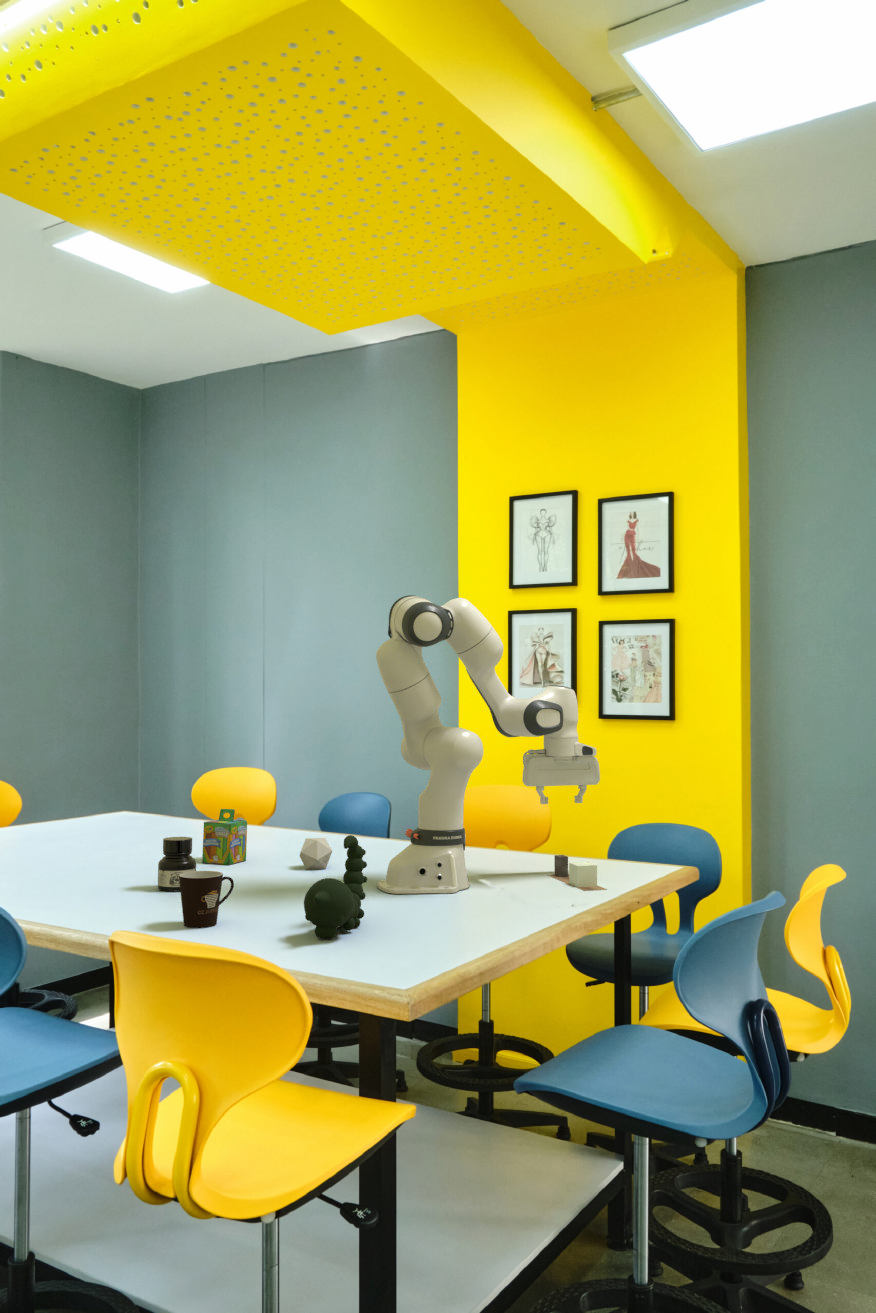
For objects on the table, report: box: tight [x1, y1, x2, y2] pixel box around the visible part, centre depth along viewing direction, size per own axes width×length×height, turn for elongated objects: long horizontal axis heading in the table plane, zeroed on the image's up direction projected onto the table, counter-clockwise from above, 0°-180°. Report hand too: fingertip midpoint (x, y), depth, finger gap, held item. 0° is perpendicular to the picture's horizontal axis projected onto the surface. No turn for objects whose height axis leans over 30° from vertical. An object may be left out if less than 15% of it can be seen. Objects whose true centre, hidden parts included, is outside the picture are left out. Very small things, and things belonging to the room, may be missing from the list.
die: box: [299, 837, 333, 870], centre depth 264 cm, size 8×9×10 cm
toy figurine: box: [303, 834, 368, 941], centre depth 190 cm, size 9×19×25 cm
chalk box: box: [201, 808, 248, 866], centre depth 274 cm, size 9×9×15 cm
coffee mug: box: [179, 870, 235, 929], centre depth 196 cm, size 12×9×10 cm
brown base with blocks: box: [547, 854, 608, 892], centre depth 238 cm, size 6×22×6 cm, turn 16°
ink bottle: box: [157, 836, 197, 892], centre depth 234 cm, size 10×9×12 cm
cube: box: [568, 861, 598, 888], centre depth 235 cm, size 5×5×5 cm
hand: (561, 803), depth 248 cm, fingers open, 8 cm apart
